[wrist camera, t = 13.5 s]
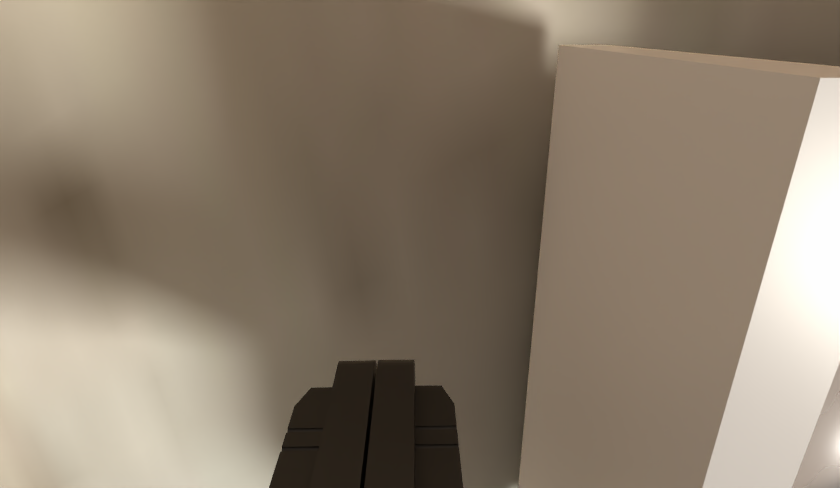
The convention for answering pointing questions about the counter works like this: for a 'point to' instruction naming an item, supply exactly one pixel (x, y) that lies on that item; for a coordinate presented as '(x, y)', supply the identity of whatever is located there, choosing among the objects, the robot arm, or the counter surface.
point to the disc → (823, 445)
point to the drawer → (684, 271)
